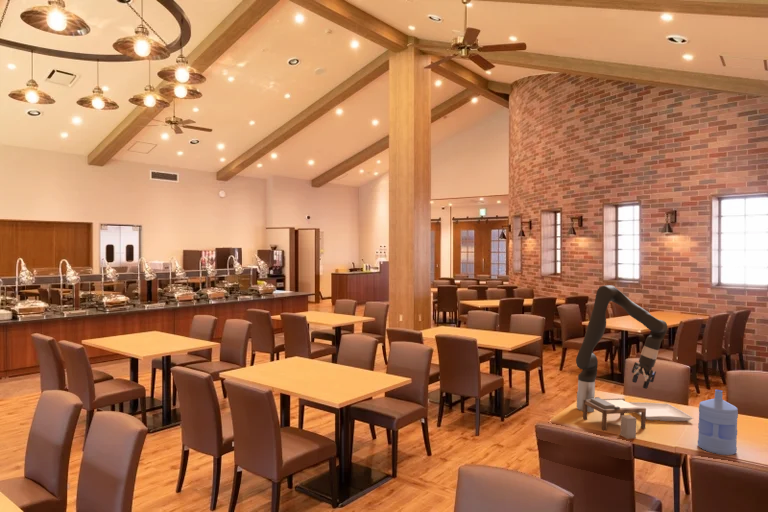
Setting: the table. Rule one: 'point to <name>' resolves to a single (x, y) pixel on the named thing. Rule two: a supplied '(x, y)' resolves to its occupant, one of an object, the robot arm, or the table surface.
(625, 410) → the frame
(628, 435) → the granite block
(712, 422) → the water jug
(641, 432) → the table surface
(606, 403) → the trapdoor
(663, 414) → the square plate
